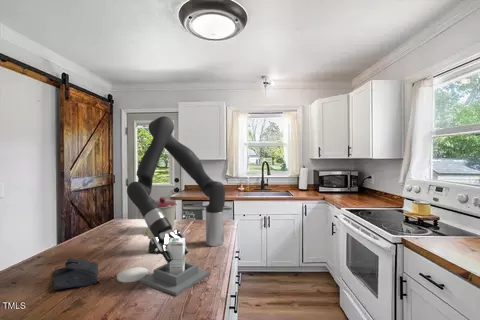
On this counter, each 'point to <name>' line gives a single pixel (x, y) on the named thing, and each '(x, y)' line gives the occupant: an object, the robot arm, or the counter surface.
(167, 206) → the canister
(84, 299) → the counter surface
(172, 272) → the syrup box
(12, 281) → the counter surface
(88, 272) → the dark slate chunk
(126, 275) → the rubber pad
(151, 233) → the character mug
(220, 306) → the counter surface
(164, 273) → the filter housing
